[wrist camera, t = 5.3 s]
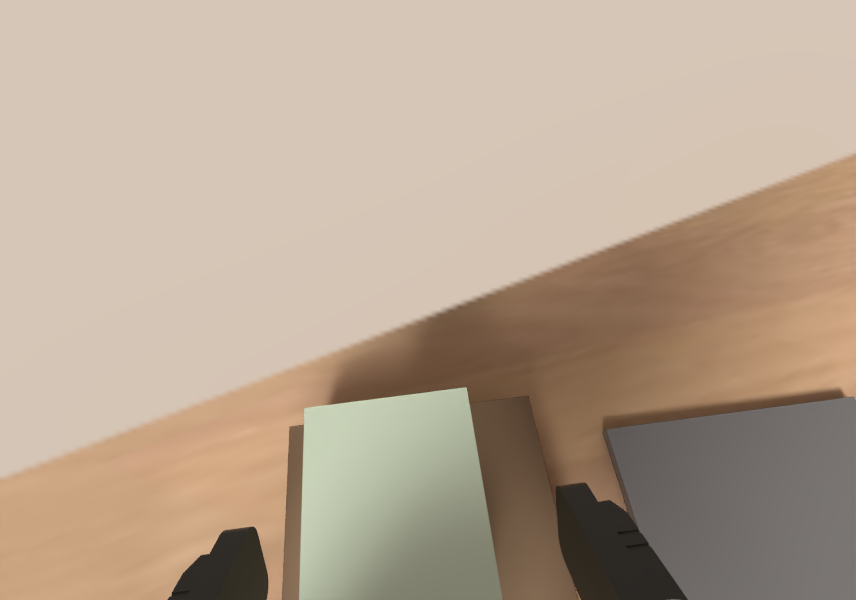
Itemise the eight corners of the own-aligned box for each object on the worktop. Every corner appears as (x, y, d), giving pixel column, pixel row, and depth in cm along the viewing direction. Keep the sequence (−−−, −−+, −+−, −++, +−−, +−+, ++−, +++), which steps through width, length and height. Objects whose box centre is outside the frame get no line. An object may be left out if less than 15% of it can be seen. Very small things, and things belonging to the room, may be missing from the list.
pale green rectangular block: (460, 468, 17) (466, 387, 10) (483, 626, 15) (517, 688, 7) (370, 480, 17) (304, 408, 10) (378, 641, 15) (295, 719, 7)
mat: (843, 400, 22) (853, 396, 21) (1003, 658, 17) (1021, 661, 16) (602, 432, 22) (606, 429, 21) (689, 703, 16) (696, 707, 16)
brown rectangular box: (516, 422, 22) (528, 395, 19) (574, 684, 17) (605, 713, 13) (315, 449, 22) (289, 426, 18) (311, 721, 17) (274, 760, 13)
